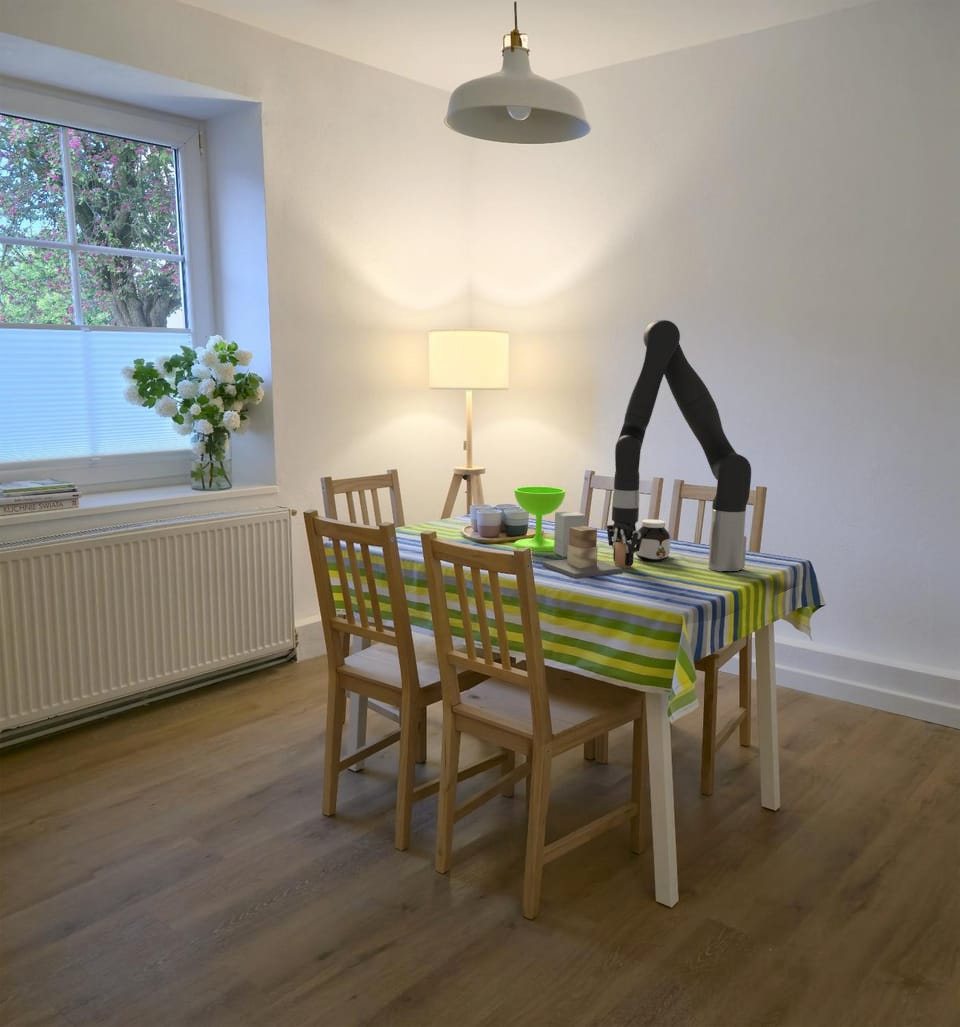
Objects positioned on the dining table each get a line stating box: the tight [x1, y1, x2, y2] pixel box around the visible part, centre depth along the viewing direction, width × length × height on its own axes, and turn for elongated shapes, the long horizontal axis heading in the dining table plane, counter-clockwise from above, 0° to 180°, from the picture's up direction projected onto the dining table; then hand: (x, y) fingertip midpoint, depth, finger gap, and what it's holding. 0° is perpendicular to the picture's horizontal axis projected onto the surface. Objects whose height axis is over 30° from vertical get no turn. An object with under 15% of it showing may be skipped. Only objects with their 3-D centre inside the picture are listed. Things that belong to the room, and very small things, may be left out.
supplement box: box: [553, 511, 587, 558], centre depth 269 cm, size 7×7×13 cm
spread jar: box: [634, 519, 672, 563], centre depth 266 cm, size 12×11×12 cm
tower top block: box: [569, 525, 598, 549], centre depth 249 cm, size 6×6×5 cm
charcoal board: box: [542, 558, 623, 579], centre depth 250 cm, size 16×16×1 cm
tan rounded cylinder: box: [614, 541, 632, 569], centre depth 254 cm, size 5×5×7 cm
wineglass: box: [512, 486, 566, 553], centre depth 280 cm, size 16×16×18 cm
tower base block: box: [566, 545, 598, 568], centre depth 250 cm, size 6×6×6 cm
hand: (622, 563), depth 255 cm, fingers closed on tan rounded cylinder, 4 cm apart
